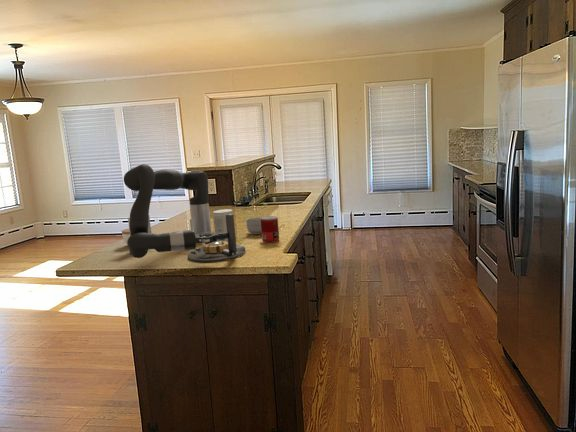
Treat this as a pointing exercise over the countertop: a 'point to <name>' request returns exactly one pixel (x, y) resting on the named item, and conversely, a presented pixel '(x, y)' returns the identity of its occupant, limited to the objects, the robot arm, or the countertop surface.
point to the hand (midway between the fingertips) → (227, 235)
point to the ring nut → (226, 246)
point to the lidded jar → (125, 235)
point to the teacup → (254, 225)
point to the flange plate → (213, 254)
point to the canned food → (269, 229)
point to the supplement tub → (221, 221)
